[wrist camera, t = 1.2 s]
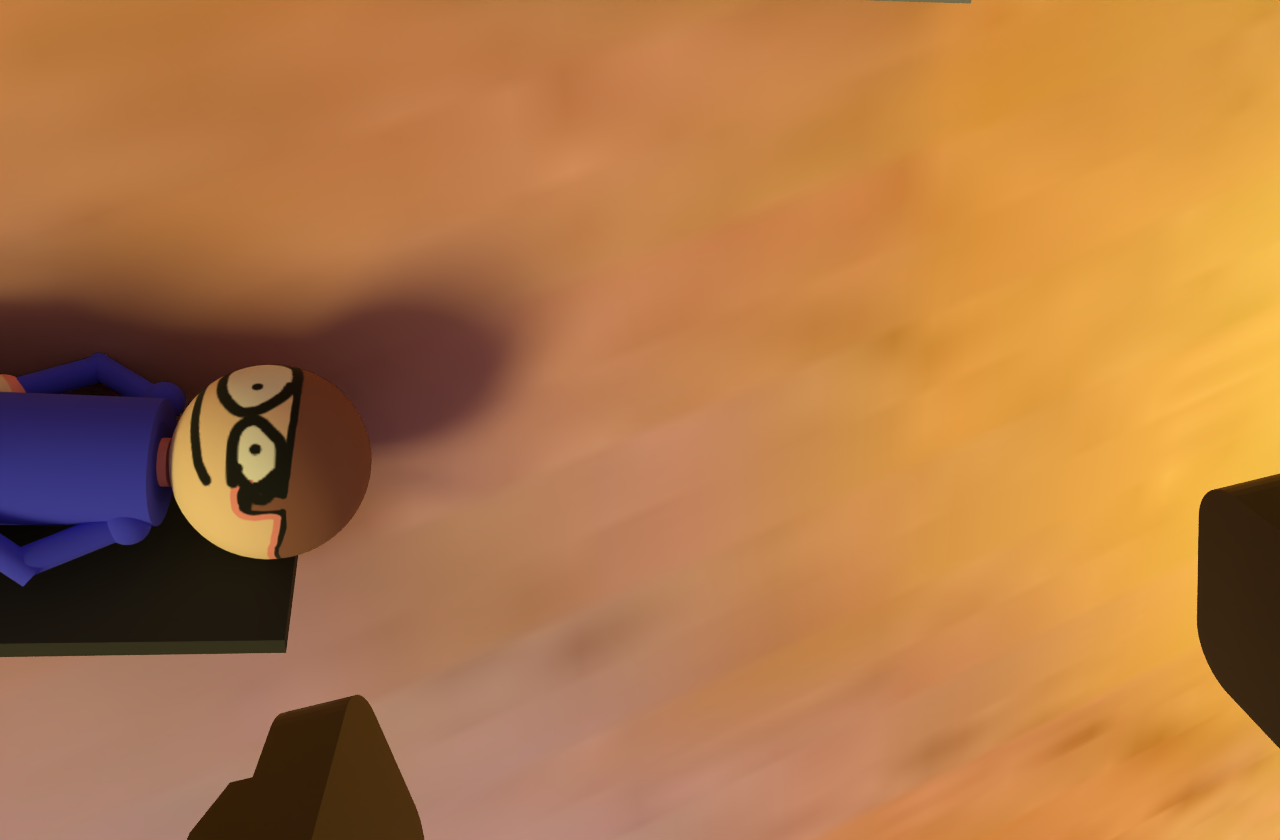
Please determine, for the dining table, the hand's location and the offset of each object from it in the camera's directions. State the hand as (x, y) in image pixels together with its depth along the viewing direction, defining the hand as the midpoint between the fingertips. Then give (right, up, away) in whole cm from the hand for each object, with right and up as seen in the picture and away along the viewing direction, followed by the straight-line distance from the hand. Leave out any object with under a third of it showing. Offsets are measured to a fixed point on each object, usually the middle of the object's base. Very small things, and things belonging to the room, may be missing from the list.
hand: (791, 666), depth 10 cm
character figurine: (-17, +2, +20) cm, 26 cm away
